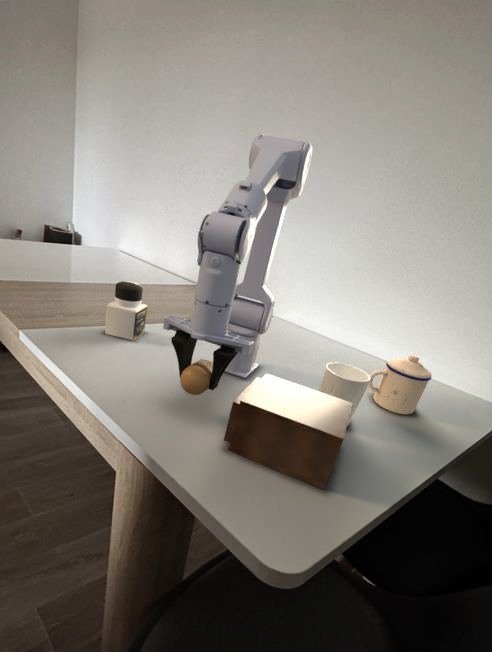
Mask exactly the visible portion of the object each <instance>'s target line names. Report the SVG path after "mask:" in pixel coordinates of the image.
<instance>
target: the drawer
mask: <svg viewBox="0 0 492 652" xmlns="http://www.w3.org/2000/svg"><path fill="white" fill-rule="evenodd" d="M261 378H262V377H259V376H256V377H255V378H254V380H252V381H251V382H250V384H249V385H248V386H246V388H245V389H244V390H243V391H242V392H241V393H239V395H238V396H237V397H236V398H234V400H233V401H232V403H231V408H230V412H229V416H228V421H227V425H226V429H225V433H224V437H223V441H224V442H227V443H228V444H230V441H231V437H232V433H233V429H234V425H235V421H236V417H237V413H238V409H239V405H240V401H241V400H242V399H243V397H244V396H245V395H246V394H247V393H248V392H249V391H250V390H251V389H252V388H253V387H254V386H255V385H256V384H257V383H258V381H259V380H260V379H261Z"/></svg>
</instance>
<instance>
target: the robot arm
mask: <svg viewBox="0 0 492 652" xmlns="http://www.w3.org/2000/svg"><path fill="white" fill-rule="evenodd" d="M312 155H313V146H312V144H311V141H308V140H306V141H302V140H295V139H289V138H285V137H284V138H283V137H277V136H272V135H267V134H266V135H265V134H264V133H262V132H261V133H258V134H257V135H256V136H254V138H253V140H252V143H251V146H250V149H249V155H248V169H249V172H248V173H247V177H246V179H244V180H240V181H238V182H236V183H235V184H234V185H233V187H232V188H231V190H230V191H229V193H228V194H227V196H226V197H225V199H224V201H223V202H222V204H221V205H220V207H219V208H218V209H217V211H212V212H211V213H207V214H205V216H204V217H203V218H202V221H201V223H200V226H199V230H198V232H197V250H198V253H197V260H196V262H197V266H198V267H199V270H198V275H197V282H196V287H195V293H194V299H193V307H192V311H191V312H192V313H191V317H190V319H189V318H184V317H180V316H177V315H172V314H170V315H166V316H164V317H163V318H164V319H163V326H162V329H164V330H166V331H170V330H171V331H174V332H175V333H174V335H173V336H171V342H170V343H171V344H172V347H173V349H174V352H175V355H176V359H177V364H178V372H179V373H178V374H179V378H180V377H181V374H182V372H183V371H184V370H185V369H186V368H187V367H188V366H190V365H192V364H193V363H192V360H193V356H194V351H195V348H196V346H197V342H198V341H204V342H207V343H209V344H213V345H216V346H219V348H217V349H215V350H213V353H212V355H213V356H212V360H213V361H212V363H213V369H212V375H211V379H210V385H209V389H208V390H210V391H214V390H215V389H217V388H218V386H219V383H220V381H221V379H222V378H223V375H224V373H228V374H231V375H234V376H236V377H239V378H242V379H247V378H248V377H249V376H250V375H251V374H252V373H253V372H254V371H255V370H256V369H257V368H258V367H259V366H260V365H259V363H257V362H256V361H257V356H258V353H259V348H260V346H261V345H260V344H261V335H264V334H266V333H267V331H268V330H269V328H270V324H271V322H272V319H273V314H274V307H275V303H276V301H275V297H274V295H273V294H272V293H271V292H270V290H269V289H268V288H267V286H266V284H267V280H268V278H269V274H270V270H271V266H272V262H273V258H274V254H275V251H276V247H277V243H278V240H279V237H280V232H281V229H282V224H283V221H284V217H285V213H286V212H287V211H286V210H287V208H288V206H289V204H290V202H291V200H293V199H297V198H299V197H301V194H302V191H303V190H304V187H305V184H306V180H307V177H308V172H309V169H310V165H311V161H312ZM248 254H249V255H248ZM247 258H248V260H247ZM245 260H247V264H246V266H245V267H246V268H245V272H244V275H243V280H242V282H239V277H240V272H241V271H240V270H241V267H242V263H244V262H245ZM238 282H239V283H238Z"/></svg>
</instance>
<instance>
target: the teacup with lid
mask: <svg viewBox="0 0 492 652" xmlns="http://www.w3.org/2000/svg"><path fill="white" fill-rule="evenodd" d="M385 365H386V366H385V368H384V370H383V369H376V370H374V371H372V372H370V374H368V375H369V376H370V378H371V379H370V382H369V384H368V386H367V387H368V388H369V389H370V390H371V391H372V392H374V395H373V400H374V402H375V403H376V404H377V405H379V406H380V407H381V408H382V409H385V410H387V411H390V412H392V413H395V414H399V415H411V414H413V413H414V412H415V410H416V408H417V406H418V404H419V402H420V400H421V398H422V396H423V393H424V391H425V389H426V387H427V385H428V383H429V381H431V380H432V376H433V375H432V372H431V371H430V370H429V369H428V368H426V367H425V366H424V365H423V364H422V363H421V362H420V357H419V356H417V355H414V354H410V355H408V357H402V358H390V359H388V360H387V361H386V363H385ZM378 375H381V378H380V380H379V383H378V385H377V387H374V385H373V380H374V378H375V377H376V376H378Z"/></svg>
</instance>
